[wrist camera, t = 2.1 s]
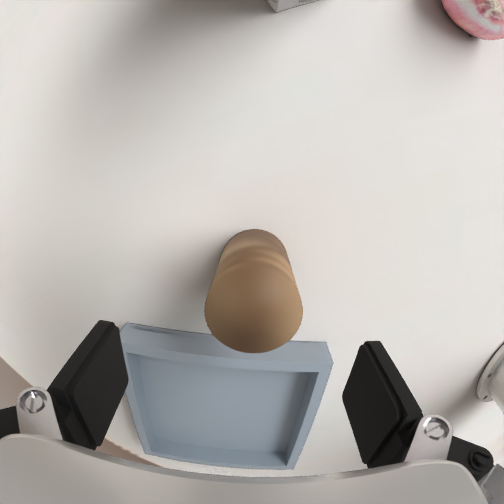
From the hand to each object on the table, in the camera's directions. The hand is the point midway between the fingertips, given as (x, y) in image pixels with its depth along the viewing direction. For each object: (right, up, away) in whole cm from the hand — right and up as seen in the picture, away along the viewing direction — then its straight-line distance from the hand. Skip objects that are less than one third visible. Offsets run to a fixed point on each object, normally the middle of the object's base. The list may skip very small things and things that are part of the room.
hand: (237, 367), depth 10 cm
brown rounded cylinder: (+1, +4, +12) cm, 13 cm away
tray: (-3, -11, +17) cm, 20 cm away
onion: (+21, +28, +4) cm, 35 cm away
